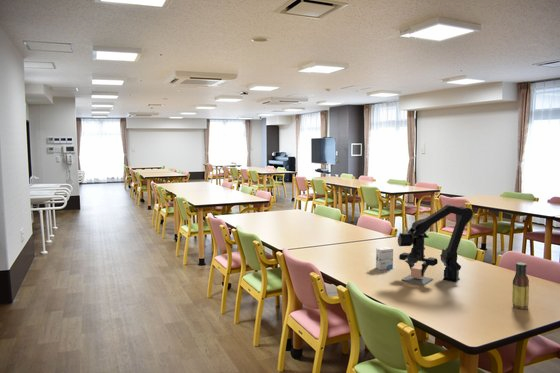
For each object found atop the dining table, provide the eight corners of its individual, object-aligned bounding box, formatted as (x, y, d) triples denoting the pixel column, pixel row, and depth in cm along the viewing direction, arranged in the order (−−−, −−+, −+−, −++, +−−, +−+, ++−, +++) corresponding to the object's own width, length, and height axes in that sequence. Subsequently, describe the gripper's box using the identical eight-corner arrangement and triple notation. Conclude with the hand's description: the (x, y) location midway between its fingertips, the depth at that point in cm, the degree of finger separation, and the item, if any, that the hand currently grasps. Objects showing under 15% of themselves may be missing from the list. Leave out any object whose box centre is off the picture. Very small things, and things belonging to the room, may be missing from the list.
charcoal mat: (433, 279, 217) (433, 278, 217) (423, 285, 209) (423, 284, 209) (411, 274, 225) (411, 273, 225) (401, 280, 217) (401, 279, 217)
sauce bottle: (522, 304, 184) (525, 261, 181) (531, 310, 177) (534, 265, 175) (508, 304, 183) (510, 261, 181) (516, 310, 177) (519, 265, 175)
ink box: (388, 266, 241) (389, 246, 240) (393, 268, 236) (393, 248, 235) (375, 267, 239) (375, 247, 238) (379, 270, 234) (380, 250, 233)
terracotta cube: (424, 276, 217) (424, 267, 216) (420, 278, 213) (420, 269, 213) (415, 274, 220) (415, 265, 220) (410, 276, 217) (411, 267, 216)
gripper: (394, 245, 215) (394, 274, 217) (429, 252, 203) (428, 282, 205) (404, 242, 224) (403, 269, 225) (438, 247, 211) (437, 277, 213)
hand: (417, 274), depth 217 cm, fingers closed on terracotta cube, 5 cm apart
